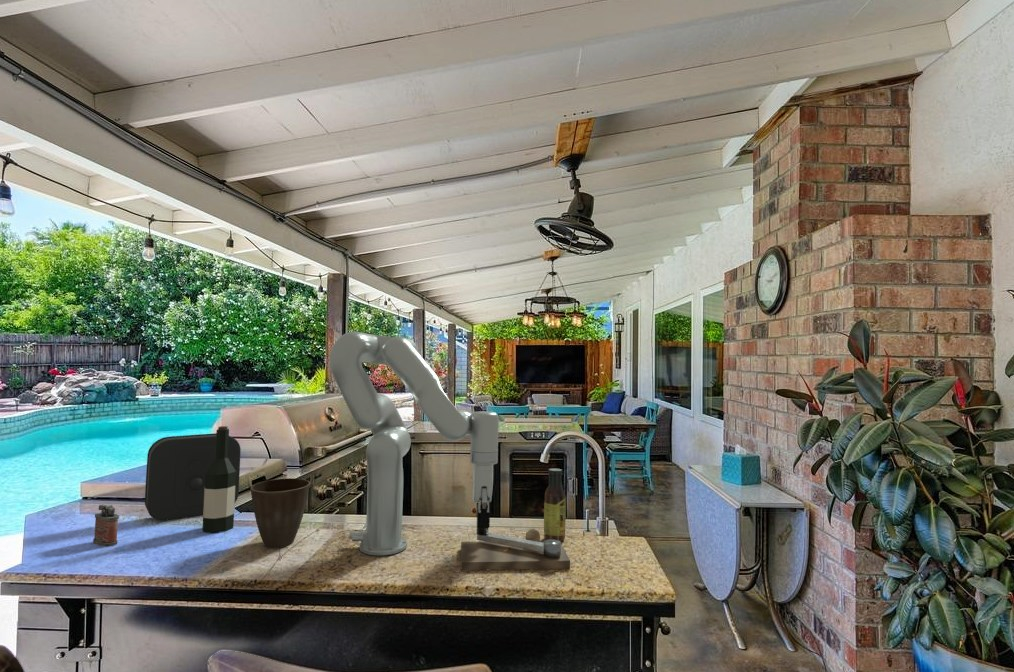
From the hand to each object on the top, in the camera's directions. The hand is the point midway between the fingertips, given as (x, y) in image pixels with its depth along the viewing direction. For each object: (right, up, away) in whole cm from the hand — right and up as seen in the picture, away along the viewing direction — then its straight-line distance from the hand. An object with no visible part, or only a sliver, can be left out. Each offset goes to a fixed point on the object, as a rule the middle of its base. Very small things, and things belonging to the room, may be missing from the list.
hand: (482, 522), depth 135 cm
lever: (+9, -5, -5) cm, 11 cm away
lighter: (-102, -6, 0) cm, 102 cm away
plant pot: (-56, -7, +2) cm, 57 cm away
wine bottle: (-79, -7, +13) cm, 81 cm away
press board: (+8, -7, -6) cm, 12 cm away
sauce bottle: (+20, -9, +9) cm, 24 cm away
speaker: (-95, -7, +26) cm, 99 cm away
